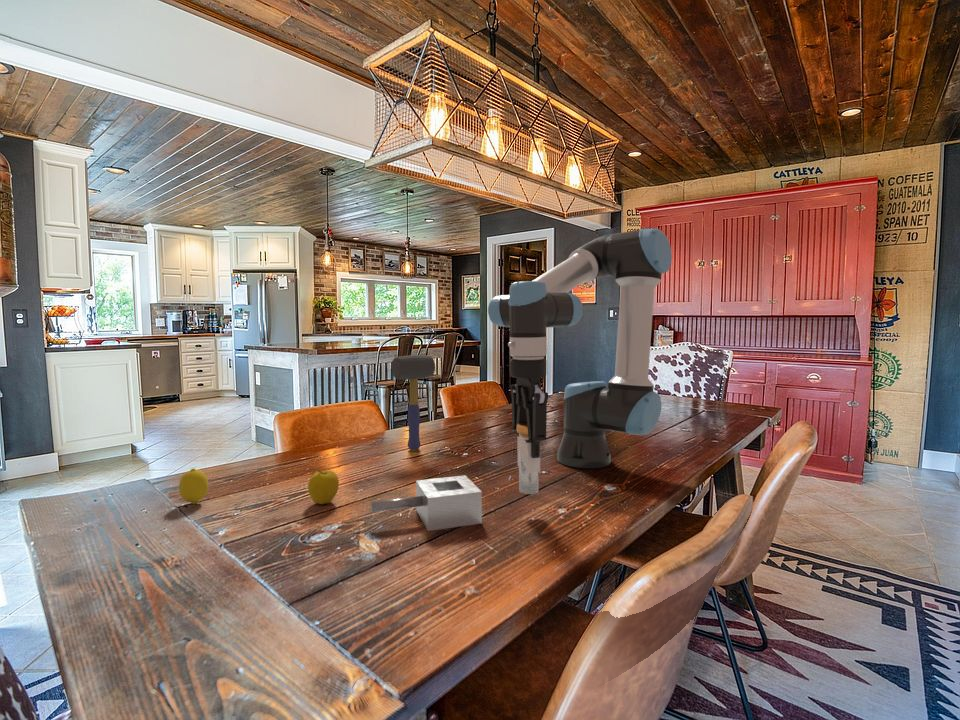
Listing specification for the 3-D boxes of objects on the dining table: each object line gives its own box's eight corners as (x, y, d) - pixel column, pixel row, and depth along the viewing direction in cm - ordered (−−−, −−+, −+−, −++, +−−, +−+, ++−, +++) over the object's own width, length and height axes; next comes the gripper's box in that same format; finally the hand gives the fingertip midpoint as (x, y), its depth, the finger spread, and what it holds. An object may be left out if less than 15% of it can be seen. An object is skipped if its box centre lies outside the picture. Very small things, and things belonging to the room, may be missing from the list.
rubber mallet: (401, 456, 146) (400, 356, 144) (390, 450, 152) (389, 355, 150) (437, 449, 153) (436, 354, 151) (425, 444, 159) (424, 353, 157)
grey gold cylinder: (534, 485, 105) (533, 421, 104) (544, 492, 101) (544, 426, 99) (513, 488, 103) (513, 423, 102) (523, 496, 99) (522, 428, 98)
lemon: (173, 506, 105) (172, 470, 105) (196, 498, 111) (195, 463, 110) (192, 510, 104) (191, 473, 103) (214, 501, 109) (213, 466, 108)
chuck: (465, 504, 107) (465, 475, 107) (481, 523, 97) (481, 491, 97) (368, 516, 100) (368, 485, 100) (375, 538, 90) (374, 504, 90)
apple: (306, 509, 104) (305, 473, 103) (311, 499, 110) (310, 464, 110) (337, 508, 105) (336, 472, 104) (340, 497, 111) (340, 463, 111)
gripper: (495, 355, 106) (497, 459, 108) (528, 362, 90) (529, 484, 92) (527, 353, 109) (527, 455, 111) (564, 360, 93) (564, 479, 95)
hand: (528, 468), depth 102 cm, fingers closed on grey gold cylinder, 4 cm apart
